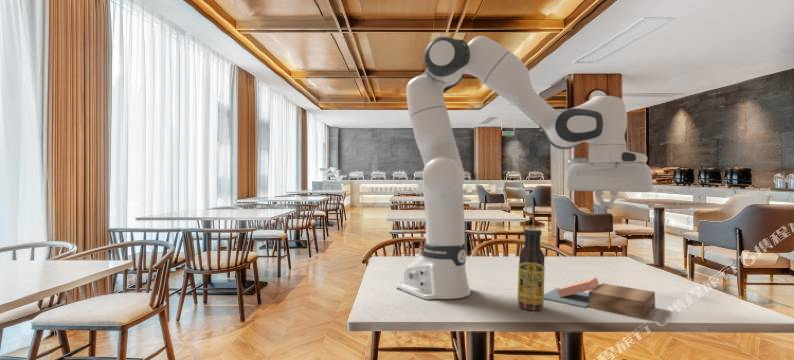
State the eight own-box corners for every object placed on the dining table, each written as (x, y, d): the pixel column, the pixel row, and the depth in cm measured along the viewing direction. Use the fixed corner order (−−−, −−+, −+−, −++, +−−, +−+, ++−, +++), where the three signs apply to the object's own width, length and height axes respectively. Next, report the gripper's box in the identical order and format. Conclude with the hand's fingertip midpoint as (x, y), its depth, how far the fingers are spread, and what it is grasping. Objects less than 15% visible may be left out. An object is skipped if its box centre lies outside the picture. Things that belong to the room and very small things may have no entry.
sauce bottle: (516, 310, 94) (516, 230, 95) (518, 302, 100) (517, 227, 100) (545, 313, 92) (544, 231, 92) (545, 305, 98) (544, 228, 98)
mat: (539, 298, 104) (539, 297, 104) (557, 288, 113) (557, 287, 113) (585, 308, 95) (585, 306, 95) (601, 296, 105) (601, 295, 105)
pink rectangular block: (560, 297, 103) (556, 290, 104) (568, 292, 108) (565, 285, 108) (592, 289, 98) (588, 281, 98) (599, 284, 102) (596, 277, 103)
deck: (589, 307, 96) (588, 291, 96) (602, 297, 104) (602, 283, 104) (644, 319, 87) (644, 301, 87) (654, 307, 95) (654, 291, 95)
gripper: (562, 157, 106) (562, 207, 106) (648, 154, 92) (648, 211, 92) (571, 158, 111) (570, 206, 111) (654, 155, 96) (654, 210, 96)
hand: (606, 208), depth 101 cm, fingers closed
